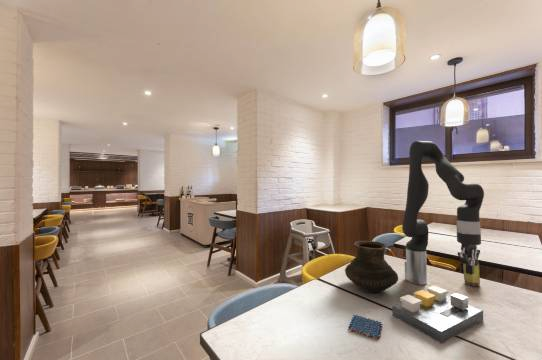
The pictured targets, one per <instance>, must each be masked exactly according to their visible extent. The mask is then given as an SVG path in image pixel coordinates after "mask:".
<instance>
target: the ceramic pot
mask: <svg viewBox="0 0 542 360" xmlns="http://www.w3.org/2000/svg"><path fill="white" fill-rule="evenodd" d="M353 245H354V246H355V247H356V252H357V253H356V254H357V255H356V256H355V257H354V258H353V259H352V260H351V262H350V263H349V264H347V265H346V267H345V269H344V273H345V276H346V278H348V279H349V280H350V282H351V283H353V284H354V285H355V286H356V287H358V288H360V289H361V290H363V291H365V292H367V293H371V294H378V293H381V292H384V291H387V290H388V289H390V288H391V287H393V286H394V285H396V284H397V283H398V281H399V276H398V273H397V272H396V271H395V270H394V268H393V267H392V266H391V265H390V264H389V263H388V262H387V261H386V260H385V249H386V248H388V245H387V244H386V243H383V242H379V241H374V240H372V241H371V240H357V241H354V243H353Z"/></svg>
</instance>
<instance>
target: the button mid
mask: <svg viewBox="0 0 542 360" xmlns="http://www.w3.org/2000/svg"><path fill="white" fill-rule="evenodd" d="M428 292H429V291H427V290H423V289H421V290H417V291H414V292H413V297H416V298H417V299H420V300H422V305H424V306H427V307H428V306H431V305H433V304H434V299H435V298H436V296H435V295H433V294H431V293H428Z"/></svg>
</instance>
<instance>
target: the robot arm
mask: <svg viewBox="0 0 542 360" xmlns="http://www.w3.org/2000/svg"><path fill="white" fill-rule="evenodd" d="M408 155H409V157H408V158H409V159H408V160H409V161H408V162H409V163H408V164H409V171H408V172H409V173H408V183H407V191H406V193H407V194H406V204H405V210H404V215H403V220H402V224H401V225H402V226H401V229H402V233H403V234H404V236H406V237H408V238H411V239H410V240H409V241H407V242H406V244H405V253H406V254H405V256H406V257H405V259H406V260H405V261H404V279H405V280H407V282H409V283H412V284H414V285H427V283H428V278H427V277H428V276H427V275H428V271H427V270H428V269H427V267H428V266H427V264H428V263H427V247H428V245H429V227H428V224H427V223H426V221H424V220H423V219H418V216H419V213H420V210H421V209H422V207H423V206H424V204H425V203H426V200H427V199H428V196H429V189H430V188H429V185H430V184H429V182H428V179H427V177H426V176H425V173H424V172H423V169H422V160H429V161H432V163H434V165H435V172H436V175H438V177H439V178H440V179H441V180H442V182H444V183H445V185H446V187H447V190H448V191H449V194H450V195H451V196H452V197H453V198H454V199H456V200H458V201H465V202H464V204H463V205H460V206H458V207H457V208H456V241H457V243H459V244H461V246H460V251H459V252H457V256H458V259H459V260H460V262H461V263H462V264H465V268H466V273H467V274H470V275H472V274H474V265H475V263H477V260H478V261H479V256H480V254H481V249H478V246H480V245H481V244H482V226H481V223H480V210H481V208H482V205H483V201H484V198H485V192H484V191H485V190H484V188H483V187H482V185H480V184H479V183H476V182H474V183H473V182H466V183H465V182H464V181H465V177H464V175H463V173H462V172H461V171H460V170H458V168H456V167H455V166H454V165H453V164H452V163H451V162H450V161H449V160H448V159H447V157H446V156H445V154H444V153H443V151H442V150H441V149H440V148H439V146H438V144H436V143H435V141H434V142H433V141H429V140H415V141H413V142H412V143H411V145H410V147H409V153H408Z"/></svg>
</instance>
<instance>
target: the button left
mask: <svg viewBox="0 0 542 360" xmlns="http://www.w3.org/2000/svg"><path fill="white" fill-rule="evenodd" d="M415 297H416V296H414V295H410V294H406V295H403V296H401V297H399V301H401V302H402V307H403V308H405V309H407V310H409V311H411V312H413V313H414V312H416V311H419V310H420V304H422V300H420V299H417V298H415Z"/></svg>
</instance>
